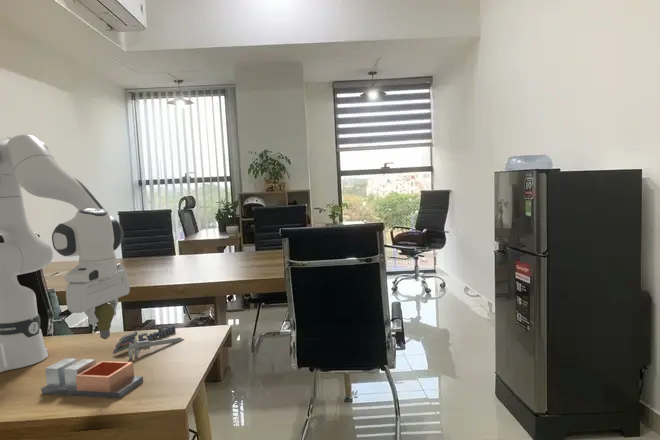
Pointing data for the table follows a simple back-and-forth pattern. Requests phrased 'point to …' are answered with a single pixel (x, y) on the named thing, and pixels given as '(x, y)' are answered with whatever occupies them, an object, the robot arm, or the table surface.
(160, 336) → the block letters
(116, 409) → the table surface
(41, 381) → the table surface
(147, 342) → the caliper
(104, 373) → the desk organizer
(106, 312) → the light bulb
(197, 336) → the table surface
